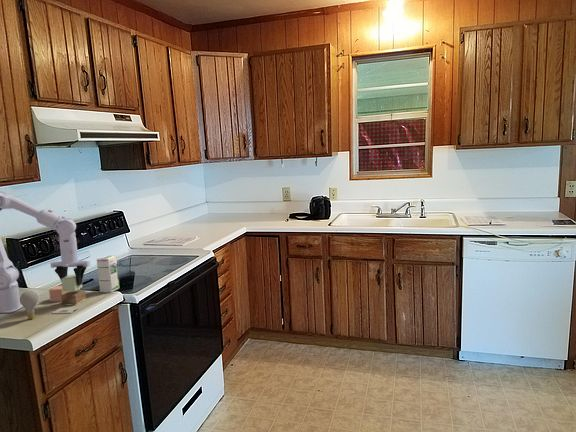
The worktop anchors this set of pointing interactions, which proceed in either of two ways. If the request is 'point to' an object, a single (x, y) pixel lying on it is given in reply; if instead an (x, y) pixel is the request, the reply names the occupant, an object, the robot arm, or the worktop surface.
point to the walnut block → (73, 297)
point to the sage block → (70, 283)
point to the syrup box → (108, 273)
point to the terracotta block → (56, 293)
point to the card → (63, 310)
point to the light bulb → (29, 302)
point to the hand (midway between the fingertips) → (72, 285)
